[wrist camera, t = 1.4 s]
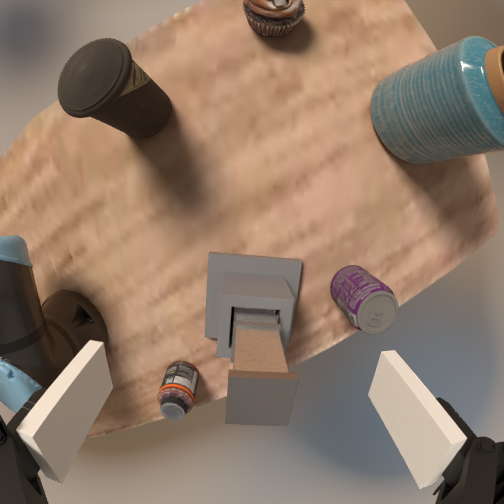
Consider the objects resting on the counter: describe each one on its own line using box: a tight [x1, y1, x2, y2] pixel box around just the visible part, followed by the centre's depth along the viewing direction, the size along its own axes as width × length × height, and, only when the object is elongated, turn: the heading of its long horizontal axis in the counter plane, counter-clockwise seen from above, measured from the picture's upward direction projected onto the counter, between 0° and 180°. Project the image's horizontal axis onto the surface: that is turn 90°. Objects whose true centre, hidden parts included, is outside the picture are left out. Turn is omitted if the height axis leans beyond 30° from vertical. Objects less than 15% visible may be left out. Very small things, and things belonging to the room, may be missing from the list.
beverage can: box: [330, 265, 398, 334], centre depth 41 cm, size 7×7×12 cm
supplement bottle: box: [158, 361, 199, 421], centre depth 44 cm, size 6×6×11 cm
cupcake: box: [243, 0, 305, 37], centre depth 32 cm, size 10×10×10 cm
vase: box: [371, 36, 504, 164], centre depth 28 cm, size 16×16×27 cm
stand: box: [205, 252, 302, 358], centre depth 41 cm, size 14×14×12 cm
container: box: [58, 38, 171, 138], centre depth 30 cm, size 9×9×20 cm
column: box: [225, 307, 298, 425], centre depth 34 cm, size 6×6×23 cm
